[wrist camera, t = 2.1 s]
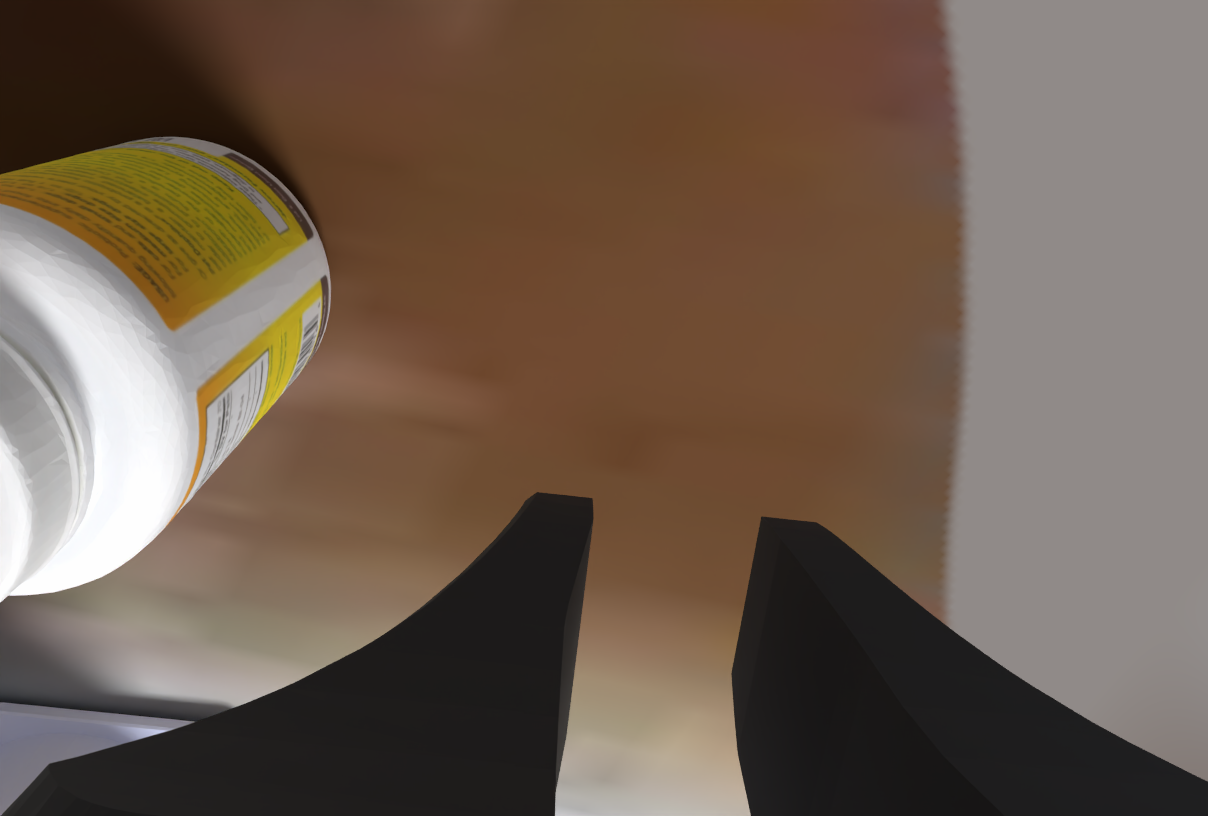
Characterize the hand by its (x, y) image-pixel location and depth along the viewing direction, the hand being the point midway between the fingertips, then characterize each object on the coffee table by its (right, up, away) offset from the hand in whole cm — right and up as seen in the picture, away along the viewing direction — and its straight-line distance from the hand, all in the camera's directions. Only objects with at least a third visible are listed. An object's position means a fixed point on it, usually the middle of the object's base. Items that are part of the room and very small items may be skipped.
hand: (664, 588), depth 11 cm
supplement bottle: (-9, +5, +10) cm, 14 cm away
